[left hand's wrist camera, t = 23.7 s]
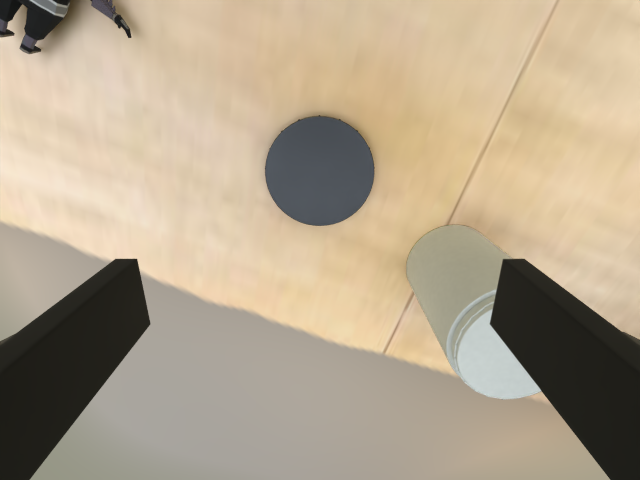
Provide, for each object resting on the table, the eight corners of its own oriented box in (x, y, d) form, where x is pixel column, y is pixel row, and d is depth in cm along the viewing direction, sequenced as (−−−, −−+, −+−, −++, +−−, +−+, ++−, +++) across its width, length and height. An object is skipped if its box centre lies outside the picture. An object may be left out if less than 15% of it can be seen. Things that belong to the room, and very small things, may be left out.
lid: (310, 240, 40) (310, 245, 39) (244, 161, 37) (241, 164, 35) (392, 181, 38) (395, 184, 36) (329, 91, 35) (330, 90, 33)
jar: (407, 227, 40) (458, 297, 25) (497, 222, 39) (602, 290, 25) (404, 304, 43) (447, 405, 29) (487, 300, 43) (572, 400, 28)
